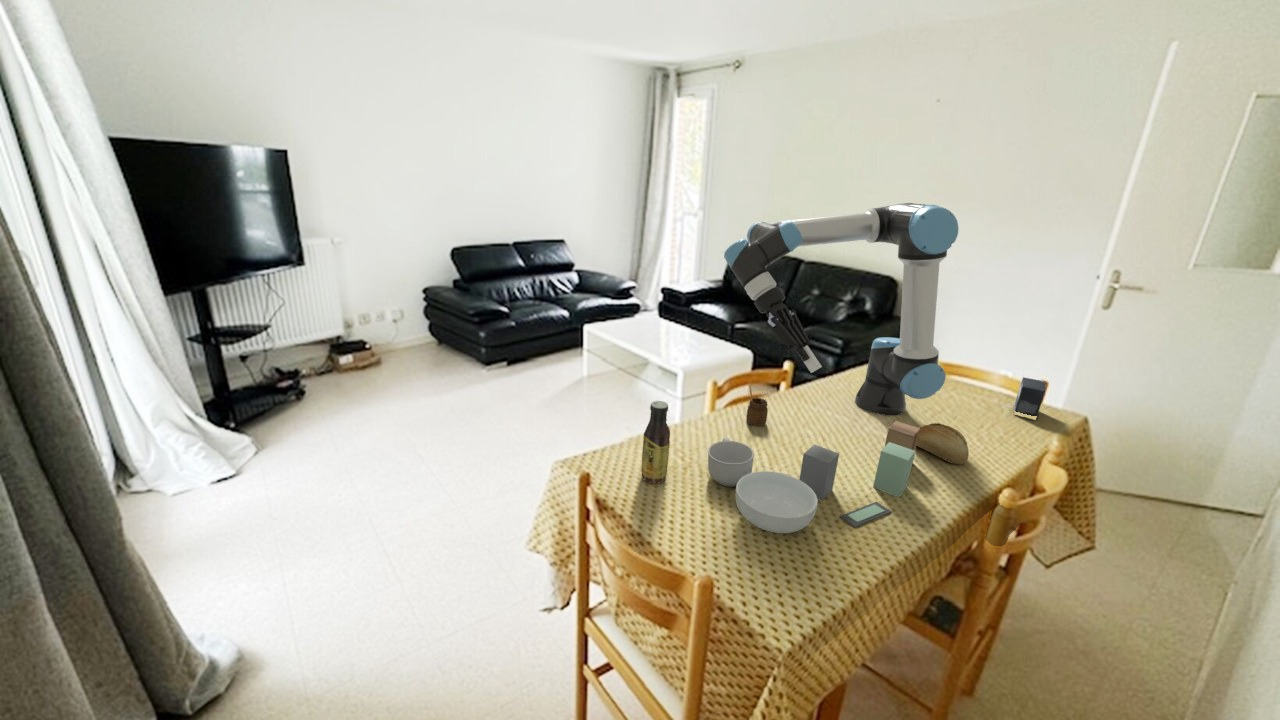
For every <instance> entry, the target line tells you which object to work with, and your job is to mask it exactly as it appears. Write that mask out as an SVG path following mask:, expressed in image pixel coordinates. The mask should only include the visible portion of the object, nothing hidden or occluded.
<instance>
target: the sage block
mask: <svg viewBox="0 0 1280 720" xmlns="http://www.w3.org/2000/svg"><path fill="white" fill-rule="evenodd" d="M915 454H916V449H915V450H912V449H908V448H905V447H902V446H899V445H896V444H893V443H890V442H889V443H888V444H887V445H886V446H885V445H884V447H883V448H882V449H881V450H880V454H879V459H878V463H877V468H876V472H875V473H876V474H875V477H874V481H873V488H874V489H876V490H879V491H881V492H884V493H887V494H889V495H892V496H895V497H897V498H901V496H902V494H903V493H904V492H905V491H906V489H907V487H908V483H909V478H910V475H911V471H912V467H913V464H914V459H915Z"/></svg>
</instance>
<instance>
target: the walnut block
mask: <svg viewBox="0 0 1280 720" xmlns="http://www.w3.org/2000/svg"><path fill="white" fill-rule="evenodd" d="M919 431H920V427H917V426H915V425H914V426H913V425H911V424H907V423H905V422H900V421H898V420H895V421H894V422H893V423H892V424H891V425H890V426H889V427H888V430H887V434H886V438H885V443H884V447H885V446H886V445H887V444H888V443H889V442H890V443H893V444H896V445H899V446H902V447H905V448H908V449H912V450H915V451H916V448H917V446H916V443H917V439H918V435H919Z"/></svg>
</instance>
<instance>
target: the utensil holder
mask: <svg viewBox="0 0 1280 720" xmlns="http://www.w3.org/2000/svg"><path fill="white" fill-rule="evenodd" d="M748 387H749V388H748V389H749V395H750V400H749V403H748V406H747V409H746V419H745V421H746V423H747V422H748V423H749V425H750V424H751V425H750V426H753V427H762V426H765V425H766V423H767V421H768V400H767V398H768V399H769V398H770V395H771V393H770V392H771V391H770V390H769V389H768V388H765V389H763V391H762V392H761V394H762V395H761V397H753V394H752V393H753V392H752V388H751V387H752V386H751V385H750V384H748ZM766 391H767V393H768V395H769V396H768V395H766V397H765V394H766ZM748 423H747V424H748Z"/></svg>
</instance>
